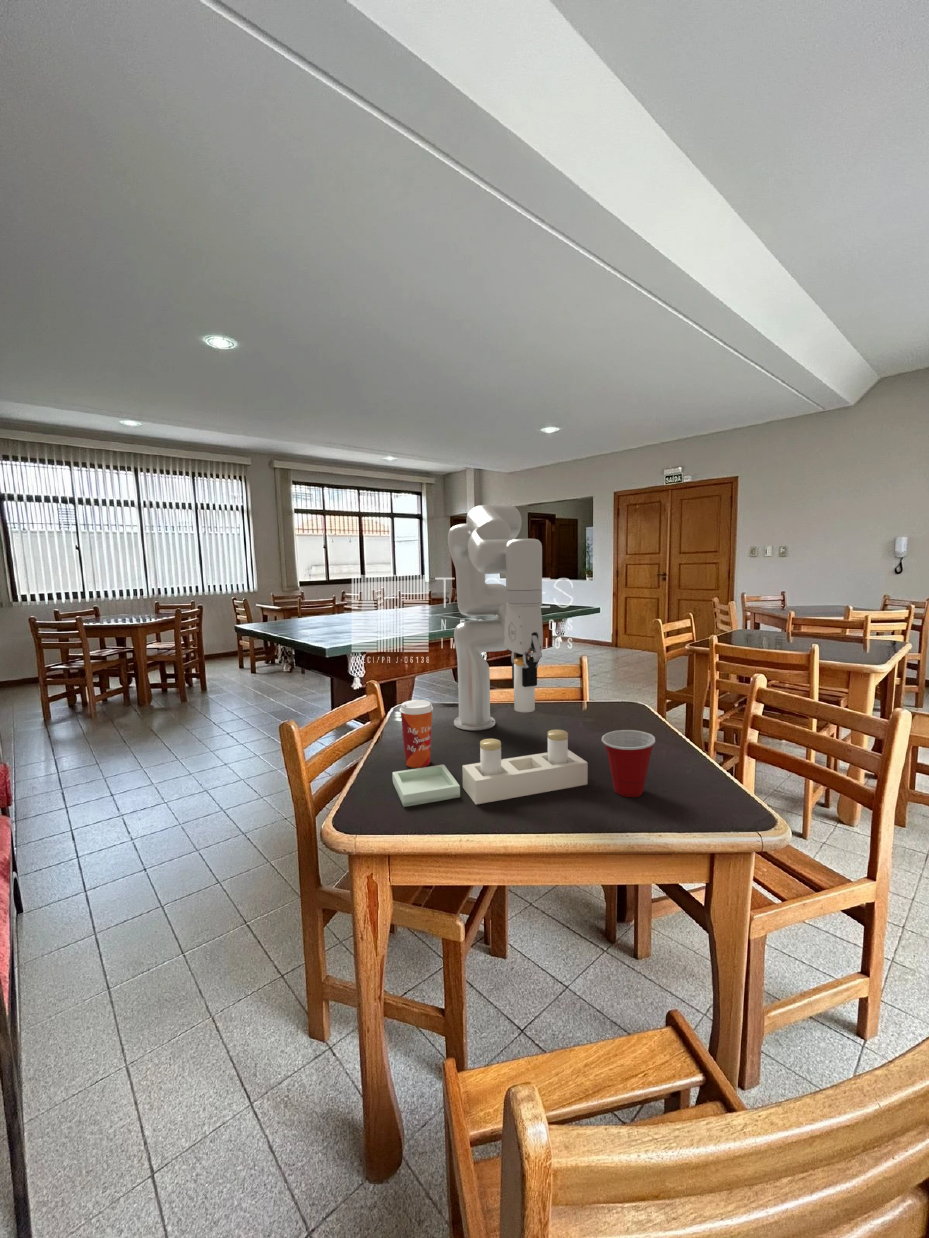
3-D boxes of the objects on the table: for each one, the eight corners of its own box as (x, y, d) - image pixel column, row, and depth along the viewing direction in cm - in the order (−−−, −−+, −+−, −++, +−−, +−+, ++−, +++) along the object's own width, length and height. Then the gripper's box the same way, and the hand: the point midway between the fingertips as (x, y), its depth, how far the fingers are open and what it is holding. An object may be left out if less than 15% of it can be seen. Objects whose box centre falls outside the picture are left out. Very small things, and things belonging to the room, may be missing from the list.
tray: (392, 782, 113) (392, 772, 112) (444, 774, 117) (443, 764, 116) (403, 806, 101) (403, 795, 101) (460, 797, 105) (459, 785, 105)
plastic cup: (597, 779, 113) (598, 727, 111) (647, 781, 111) (648, 728, 110) (604, 802, 102) (605, 745, 100) (660, 804, 100) (661, 746, 99)
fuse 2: (544, 777, 114) (544, 730, 113) (561, 774, 115) (561, 728, 114) (553, 785, 110) (553, 737, 108) (571, 782, 111) (571, 734, 110)
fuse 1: (478, 789, 109) (477, 740, 108) (496, 785, 110) (496, 737, 109) (485, 797, 105) (484, 747, 103) (504, 794, 106) (504, 744, 105)
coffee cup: (410, 772, 118) (408, 710, 116) (395, 761, 125) (393, 702, 123) (441, 764, 122) (439, 704, 121) (425, 754, 129) (423, 697, 128)
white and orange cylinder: (511, 707, 110) (510, 658, 108) (529, 705, 111) (529, 656, 110) (519, 713, 105) (519, 661, 104) (538, 710, 107) (538, 660, 106)
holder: (462, 787, 110) (462, 765, 109) (567, 769, 118) (567, 749, 117) (475, 804, 102) (475, 780, 101) (587, 784, 110) (587, 762, 110)
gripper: (492, 596, 112) (493, 676, 114) (525, 601, 96) (525, 694, 98) (523, 595, 115) (523, 673, 117) (559, 600, 99) (559, 691, 101)
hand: (524, 682), depth 107 cm, fingers closed on white and orange cylinder, 4 cm apart
